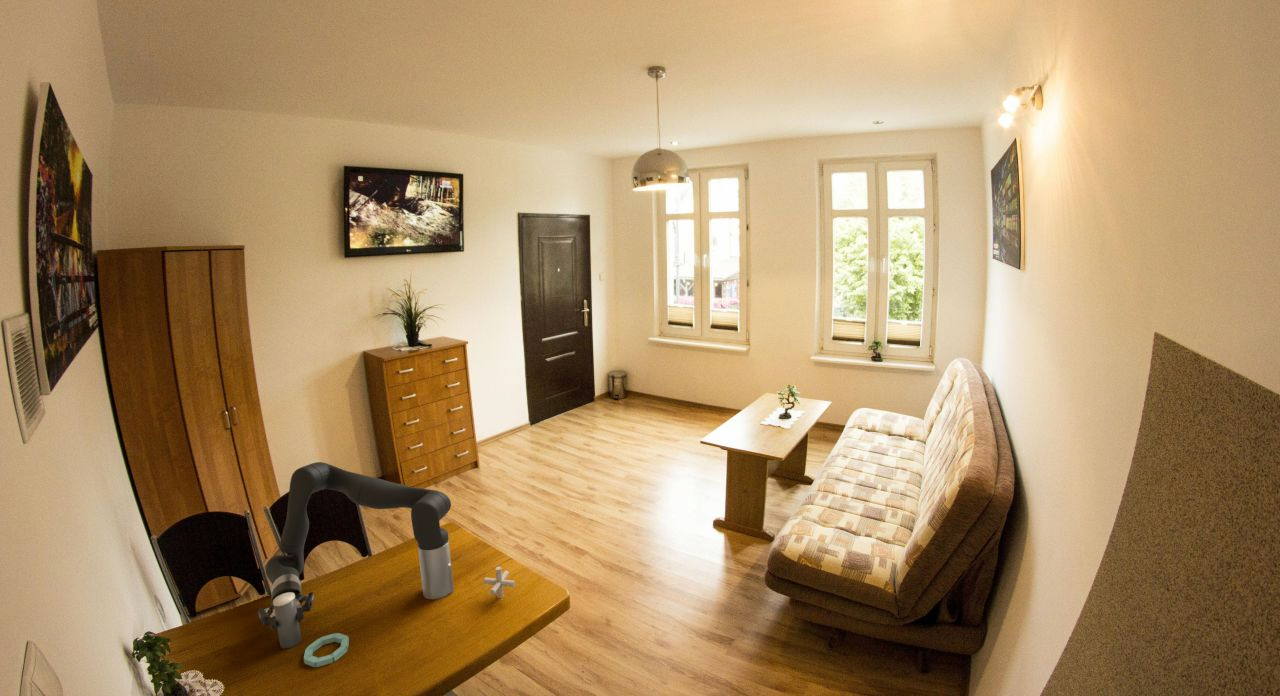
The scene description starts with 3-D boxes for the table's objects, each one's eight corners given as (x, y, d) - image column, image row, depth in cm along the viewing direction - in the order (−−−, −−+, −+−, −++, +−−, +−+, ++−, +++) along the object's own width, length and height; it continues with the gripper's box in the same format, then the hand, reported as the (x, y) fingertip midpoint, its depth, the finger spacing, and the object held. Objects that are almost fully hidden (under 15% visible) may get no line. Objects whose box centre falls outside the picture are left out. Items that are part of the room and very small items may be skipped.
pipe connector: (508, 608, 162) (506, 579, 160) (478, 604, 164) (476, 576, 162) (521, 588, 171) (519, 560, 170) (493, 585, 173) (491, 557, 172)
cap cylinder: (303, 633, 153) (296, 590, 150) (300, 645, 148) (293, 601, 146) (282, 639, 151) (274, 595, 148) (278, 651, 146) (270, 606, 144)
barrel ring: (349, 634, 152) (349, 629, 152) (346, 658, 143) (346, 653, 143) (308, 645, 148) (307, 640, 148) (302, 671, 139) (301, 666, 138)
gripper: (255, 589, 155) (253, 622, 141) (312, 572, 163) (315, 601, 149) (259, 612, 156) (257, 646, 143) (315, 594, 164) (319, 624, 151)
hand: (287, 623), depth 146 cm, fingers closed on cap cylinder, 5 cm apart
